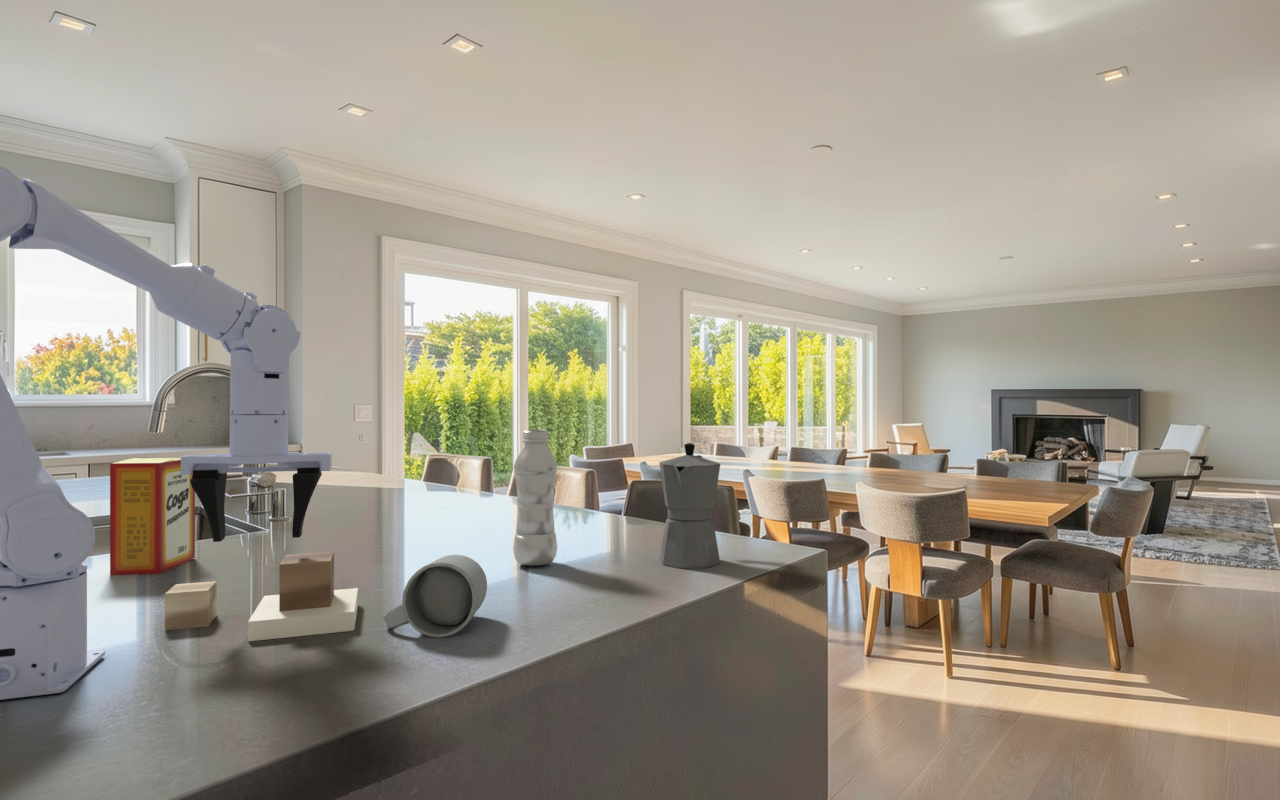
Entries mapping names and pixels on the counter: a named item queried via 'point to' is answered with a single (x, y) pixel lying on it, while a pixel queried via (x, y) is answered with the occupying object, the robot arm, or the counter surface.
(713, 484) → the coffeepot
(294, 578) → the walnut block
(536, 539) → the plastic bottle
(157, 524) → the baking soda box
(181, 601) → the maple block
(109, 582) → the counter surface
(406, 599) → the ceramic mug
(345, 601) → the base
